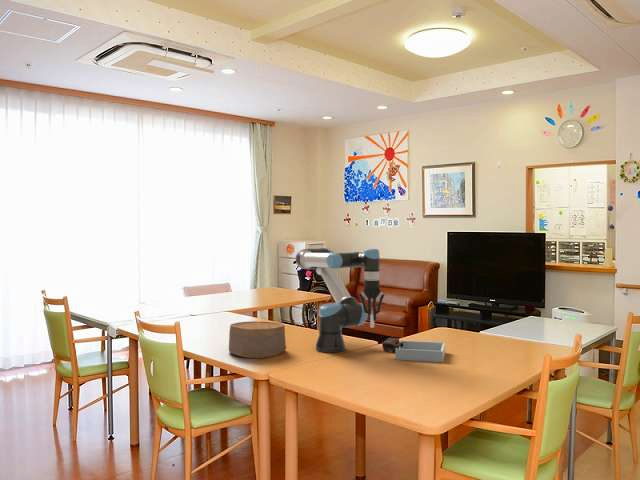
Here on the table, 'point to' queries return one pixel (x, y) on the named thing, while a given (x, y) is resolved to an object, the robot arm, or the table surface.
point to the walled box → (421, 351)
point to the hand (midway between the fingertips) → (372, 327)
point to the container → (257, 339)
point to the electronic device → (391, 344)
